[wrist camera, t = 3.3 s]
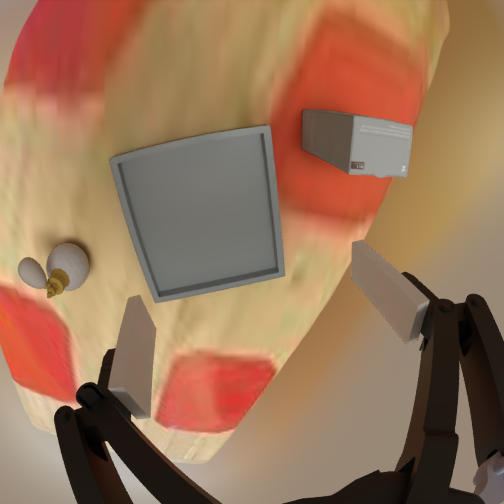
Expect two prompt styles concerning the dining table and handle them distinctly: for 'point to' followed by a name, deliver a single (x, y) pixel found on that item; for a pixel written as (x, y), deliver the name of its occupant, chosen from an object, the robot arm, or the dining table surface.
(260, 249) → the tray
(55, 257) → the perfume bottle
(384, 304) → the robot arm
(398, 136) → the skincare box
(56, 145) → the dining table surface
